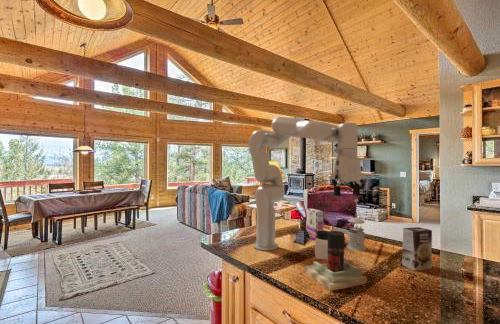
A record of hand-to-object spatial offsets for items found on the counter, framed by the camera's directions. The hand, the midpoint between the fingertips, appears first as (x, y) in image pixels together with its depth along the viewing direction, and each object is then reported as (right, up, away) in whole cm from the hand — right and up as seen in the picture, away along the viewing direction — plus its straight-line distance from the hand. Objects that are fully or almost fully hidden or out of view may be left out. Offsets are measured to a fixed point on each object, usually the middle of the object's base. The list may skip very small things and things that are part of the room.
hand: (346, 195), depth 103 cm
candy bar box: (-2, -31, +43) cm, 53 cm away
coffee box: (+31, -31, +4) cm, 44 cm away
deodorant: (-7, -28, -8) cm, 30 cm away
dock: (-7, -30, -7) cm, 32 cm away
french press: (+15, -31, +27) cm, 44 cm away
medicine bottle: (-6, -31, +14) cm, 34 cm away
